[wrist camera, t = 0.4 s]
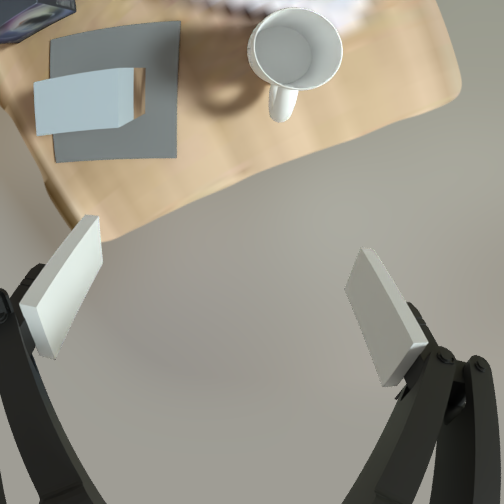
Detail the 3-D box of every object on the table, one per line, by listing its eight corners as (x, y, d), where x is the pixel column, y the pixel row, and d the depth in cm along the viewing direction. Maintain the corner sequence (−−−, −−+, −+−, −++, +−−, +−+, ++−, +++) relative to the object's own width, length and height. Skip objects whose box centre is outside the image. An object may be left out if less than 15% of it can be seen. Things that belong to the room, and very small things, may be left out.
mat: (52, 39, 29) (50, 39, 29) (180, 21, 30) (180, 20, 30) (57, 162, 38) (56, 162, 38) (176, 157, 40) (176, 158, 39)
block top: (56, 78, 28) (33, 82, 24) (133, 67, 29) (118, 67, 24) (58, 126, 31) (36, 136, 27) (133, 119, 32) (118, 127, 27)
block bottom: (74, 76, 32) (56, 78, 28) (145, 67, 33) (133, 67, 29) (75, 119, 35) (58, 126, 31) (145, 113, 36) (133, 119, 32)
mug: (237, 110, 37) (238, 126, 27) (249, 20, 31) (255, -1, 21) (302, 119, 38) (328, 139, 28) (317, 31, 32) (349, 18, 22)
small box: (18, 46, 28) (-29, 49, 19) (13, 10, 25) (-32, 7, 16) (78, 13, 28) (36, 4, 19) (72, -24, 24) (32, -40, 15)
